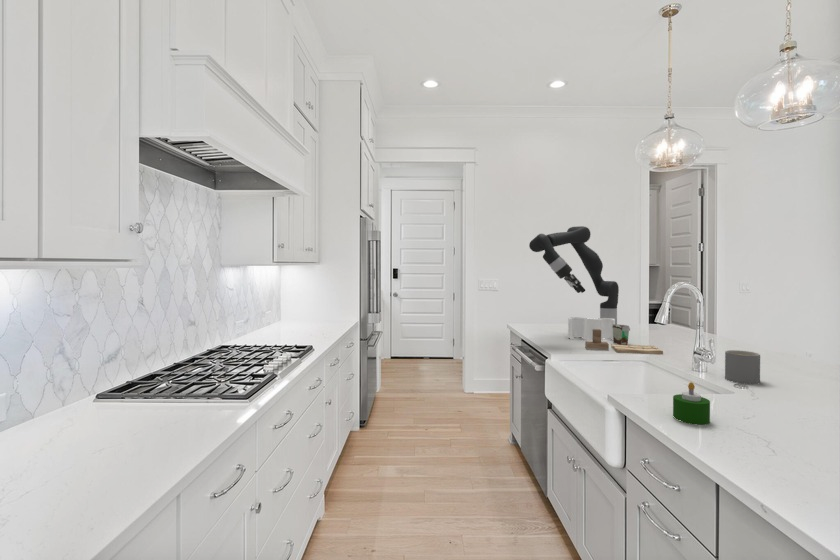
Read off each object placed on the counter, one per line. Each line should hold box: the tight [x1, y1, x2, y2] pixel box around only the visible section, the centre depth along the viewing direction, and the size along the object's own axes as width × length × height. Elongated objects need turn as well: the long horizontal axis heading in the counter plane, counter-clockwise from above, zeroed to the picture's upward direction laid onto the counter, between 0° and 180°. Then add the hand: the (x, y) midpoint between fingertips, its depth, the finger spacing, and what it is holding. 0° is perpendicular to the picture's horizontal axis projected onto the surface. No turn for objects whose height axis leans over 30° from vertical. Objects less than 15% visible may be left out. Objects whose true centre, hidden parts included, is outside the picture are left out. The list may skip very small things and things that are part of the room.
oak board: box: [610, 343, 664, 355], centre depth 205 cm, size 14×20×2 cm
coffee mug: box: [724, 349, 761, 385], centre depth 151 cm, size 13×10×10 cm
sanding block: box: [584, 329, 610, 352], centre depth 209 cm, size 6×10×10 cm, turn 76°
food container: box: [612, 323, 631, 345], centre depth 223 cm, size 12×6×10 cm, turn 179°
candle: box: [672, 381, 711, 426], centre depth 111 cm, size 8×8×10 cm
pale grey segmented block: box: [567, 316, 615, 342], centre depth 239 cm, size 25×10×12 cm, turn 73°
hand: (581, 291), depth 210 cm, fingers open, 8 cm apart
